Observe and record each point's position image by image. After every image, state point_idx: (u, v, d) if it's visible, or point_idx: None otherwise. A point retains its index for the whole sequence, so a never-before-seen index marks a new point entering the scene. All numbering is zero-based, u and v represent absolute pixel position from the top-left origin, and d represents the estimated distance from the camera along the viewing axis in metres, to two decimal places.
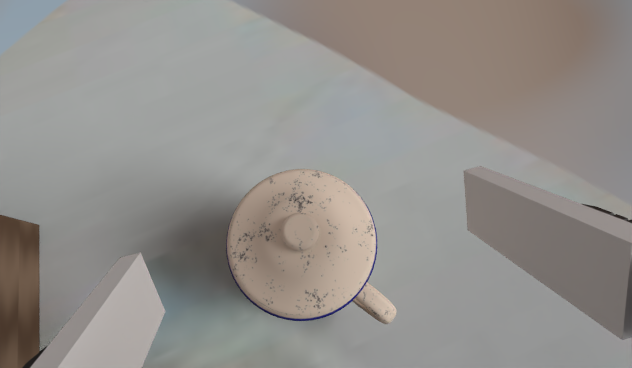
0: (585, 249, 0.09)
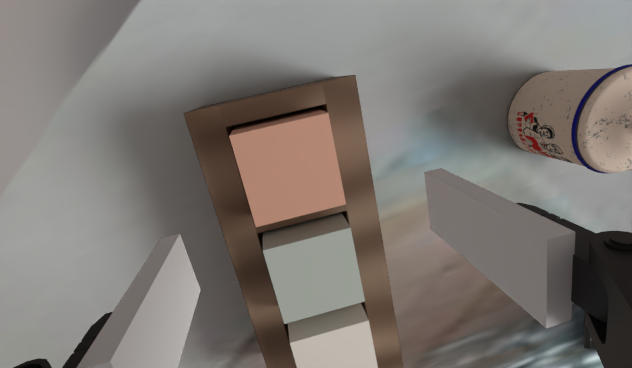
0: (515, 245, 0.09)
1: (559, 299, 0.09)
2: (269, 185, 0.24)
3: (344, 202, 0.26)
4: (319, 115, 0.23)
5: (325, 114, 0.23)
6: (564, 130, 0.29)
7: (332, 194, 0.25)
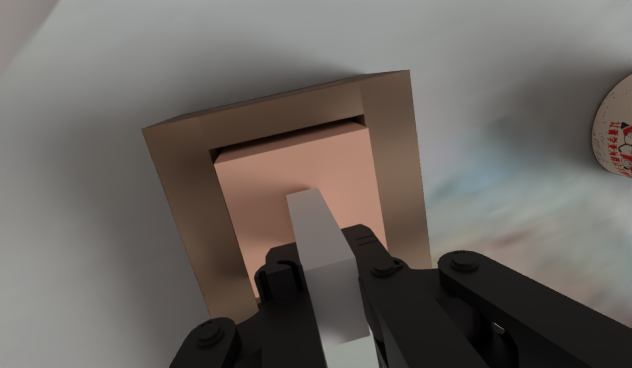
0: None
1: (353, 317, 0.10)
2: (276, 237, 0.16)
3: None
4: (354, 132, 0.15)
5: (363, 130, 0.15)
6: None
7: None
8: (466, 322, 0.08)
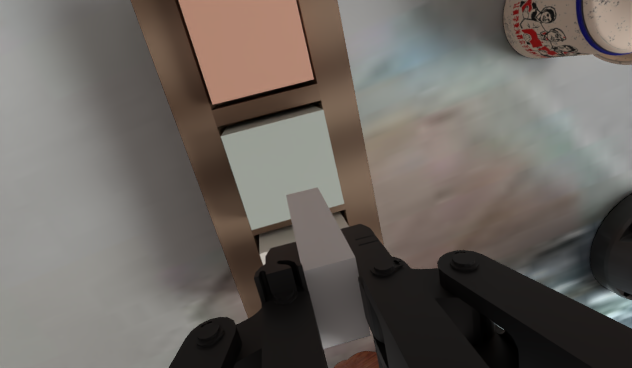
0: None
1: (353, 317, 0.10)
2: (225, 52, 0.22)
3: (311, 77, 0.23)
4: None
5: None
6: (567, 5, 0.26)
7: (297, 66, 0.22)
8: (466, 322, 0.08)
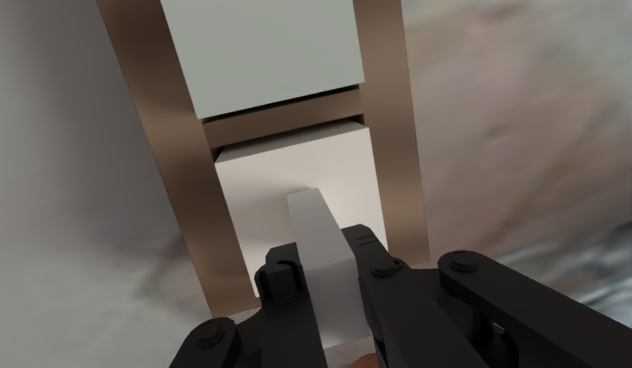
0: None
1: (353, 316, 0.10)
2: None
3: None
4: None
5: None
6: None
7: None
8: (466, 322, 0.08)
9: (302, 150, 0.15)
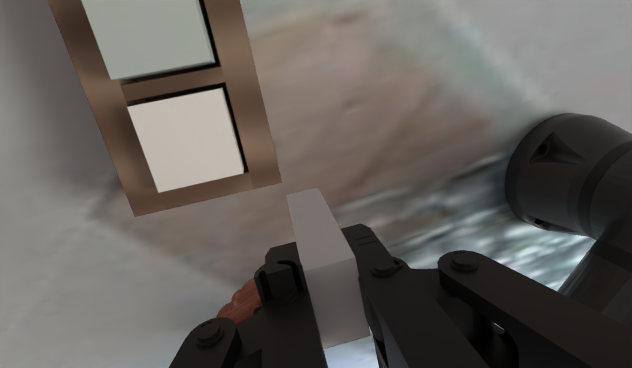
0: None
1: (353, 317, 0.10)
2: None
3: None
4: None
5: None
6: None
7: None
8: (466, 322, 0.08)
9: (180, 100, 0.26)
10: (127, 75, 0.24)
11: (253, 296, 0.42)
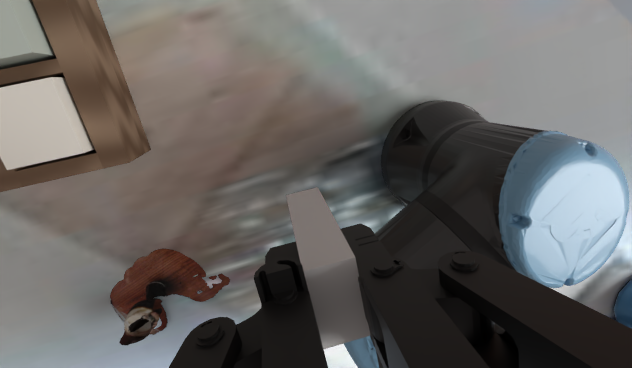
0: None
1: (353, 316, 0.10)
2: None
3: None
4: None
5: None
6: None
7: None
8: (466, 322, 0.08)
9: (15, 88, 0.30)
10: None
11: (143, 274, 0.45)
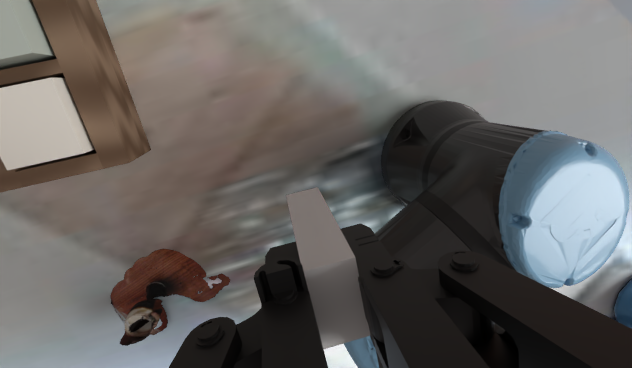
0: None
1: (353, 317, 0.10)
2: None
3: None
4: None
5: None
6: None
7: None
8: (466, 322, 0.08)
9: (15, 88, 0.30)
10: None
11: (144, 274, 0.45)
